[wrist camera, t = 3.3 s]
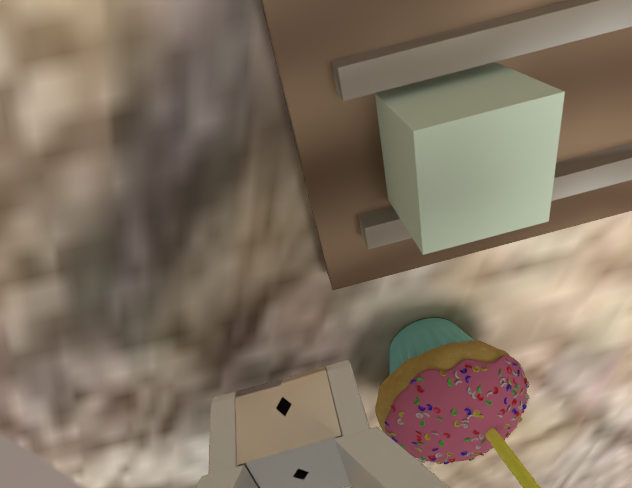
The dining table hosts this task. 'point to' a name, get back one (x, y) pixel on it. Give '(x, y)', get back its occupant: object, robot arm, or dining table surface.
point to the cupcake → (452, 396)
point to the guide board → (433, 61)
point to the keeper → (470, 153)
